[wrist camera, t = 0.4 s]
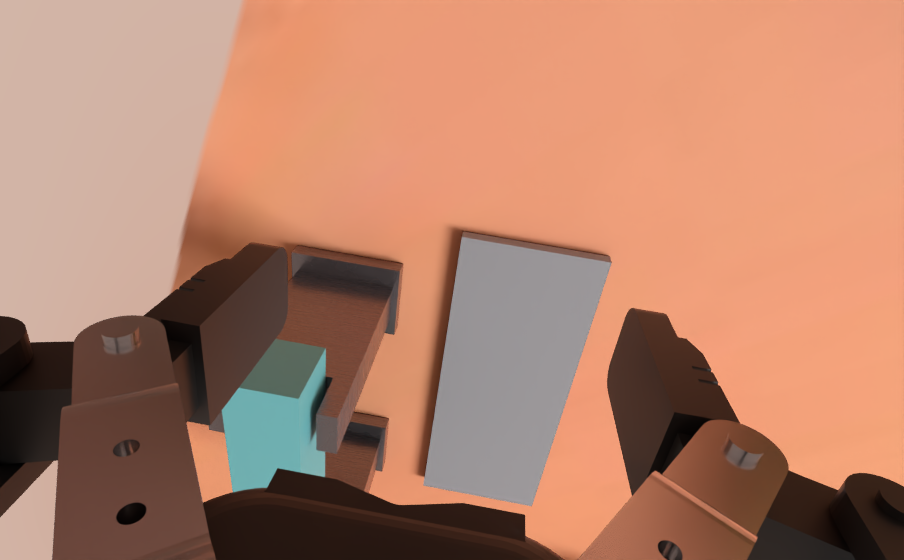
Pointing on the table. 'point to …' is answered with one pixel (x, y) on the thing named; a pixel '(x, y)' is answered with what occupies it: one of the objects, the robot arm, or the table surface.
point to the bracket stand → (343, 350)
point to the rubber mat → (509, 363)
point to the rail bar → (276, 416)
